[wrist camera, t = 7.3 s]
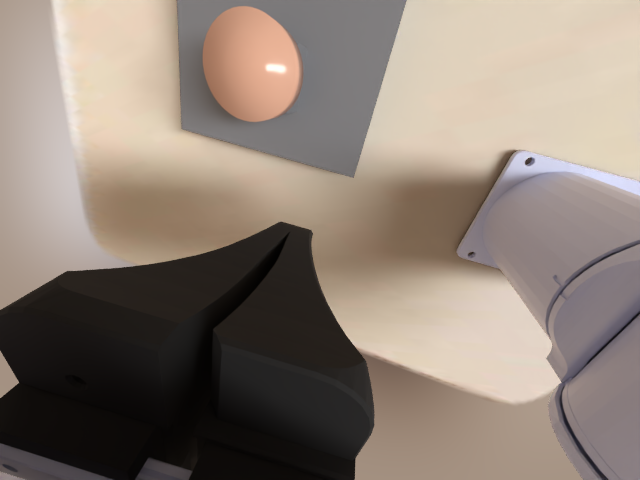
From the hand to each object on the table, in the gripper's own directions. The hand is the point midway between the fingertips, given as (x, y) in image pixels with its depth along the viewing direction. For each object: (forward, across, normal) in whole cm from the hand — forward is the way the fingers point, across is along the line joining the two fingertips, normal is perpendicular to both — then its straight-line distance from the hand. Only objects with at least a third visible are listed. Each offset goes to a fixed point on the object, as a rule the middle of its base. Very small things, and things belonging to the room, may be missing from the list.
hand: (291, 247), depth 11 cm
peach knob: (+11, +4, -6) cm, 13 cm away
